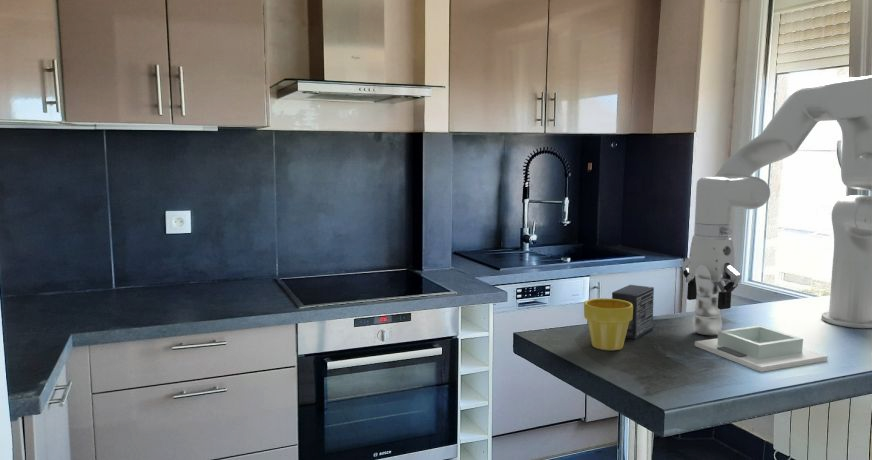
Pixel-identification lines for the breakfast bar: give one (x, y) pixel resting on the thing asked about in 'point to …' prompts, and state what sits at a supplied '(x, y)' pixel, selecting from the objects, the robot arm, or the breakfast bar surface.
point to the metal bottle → (706, 304)
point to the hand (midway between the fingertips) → (708, 303)
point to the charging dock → (761, 348)
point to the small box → (638, 308)
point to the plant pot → (608, 322)
